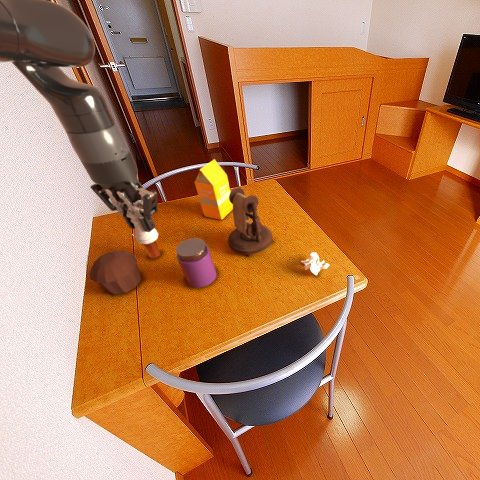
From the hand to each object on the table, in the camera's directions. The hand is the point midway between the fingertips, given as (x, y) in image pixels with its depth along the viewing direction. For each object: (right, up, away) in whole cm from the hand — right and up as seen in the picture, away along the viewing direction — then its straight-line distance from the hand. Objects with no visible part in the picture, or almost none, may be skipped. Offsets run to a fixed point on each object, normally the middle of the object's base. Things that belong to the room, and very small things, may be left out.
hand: (142, 227), depth 60 cm
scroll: (+15, -4, +35) cm, 38 cm away
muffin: (-18, -15, +20) cm, 31 cm away
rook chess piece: (0, -2, +2) cm, 3 cm away
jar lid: (+3, -5, +15) cm, 16 cm away
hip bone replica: (+37, -11, +27) cm, 47 cm away
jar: (+3, -14, +23) cm, 27 cm away
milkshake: (-15, -8, +29) cm, 34 cm away
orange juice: (-1, +8, +48) cm, 49 cm away
